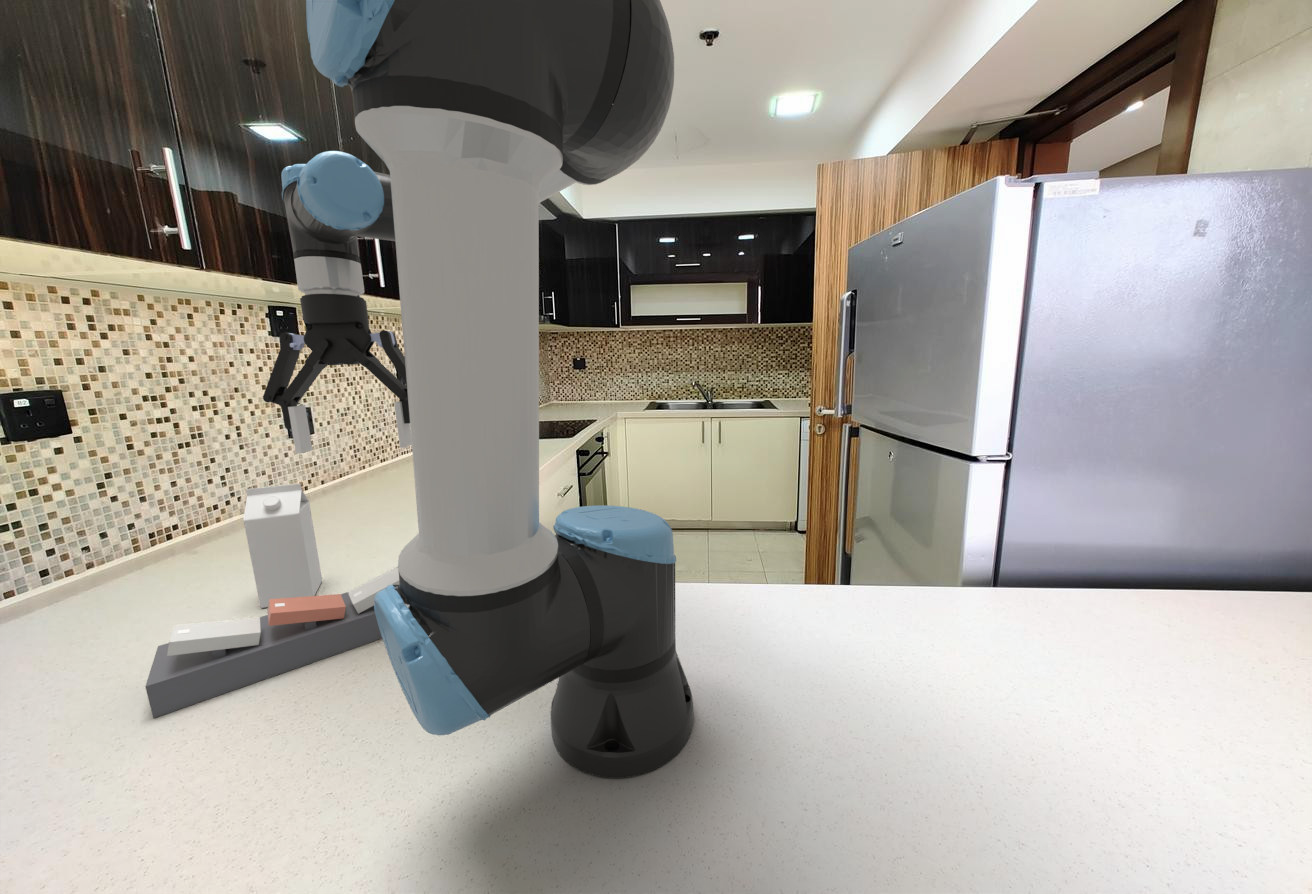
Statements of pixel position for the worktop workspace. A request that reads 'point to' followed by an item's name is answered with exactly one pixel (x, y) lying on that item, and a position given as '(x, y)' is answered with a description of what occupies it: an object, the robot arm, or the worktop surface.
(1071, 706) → the worktop surface
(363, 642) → the dark grey switch base
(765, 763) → the worktop surface
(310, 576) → the milk carton
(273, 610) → the rocker red
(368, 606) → the grey rocker
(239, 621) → the grey rocker
